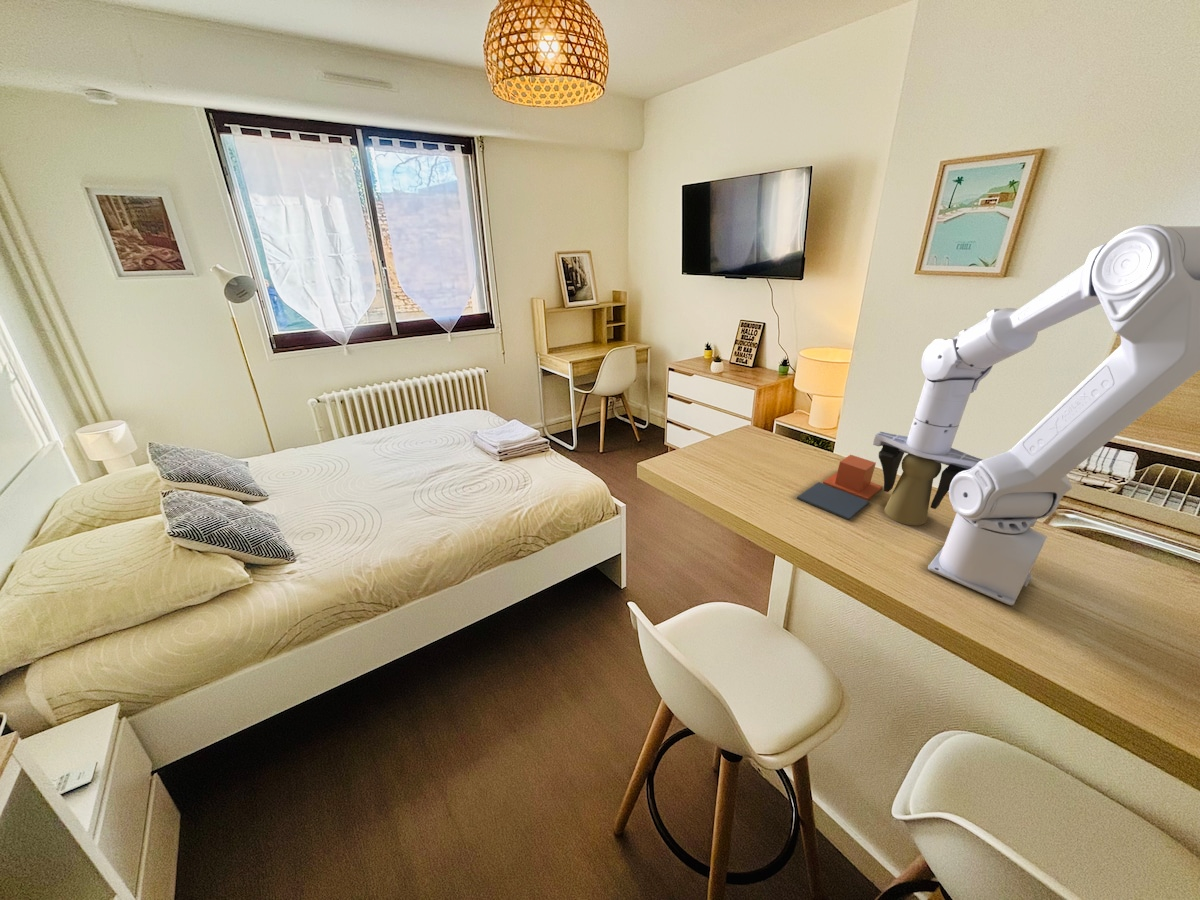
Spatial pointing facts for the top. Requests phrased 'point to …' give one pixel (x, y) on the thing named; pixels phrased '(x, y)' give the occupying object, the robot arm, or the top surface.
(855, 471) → the terracotta block
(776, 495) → the top surface
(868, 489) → the terracotta mat
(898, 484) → the cork
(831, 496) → the slate mat
